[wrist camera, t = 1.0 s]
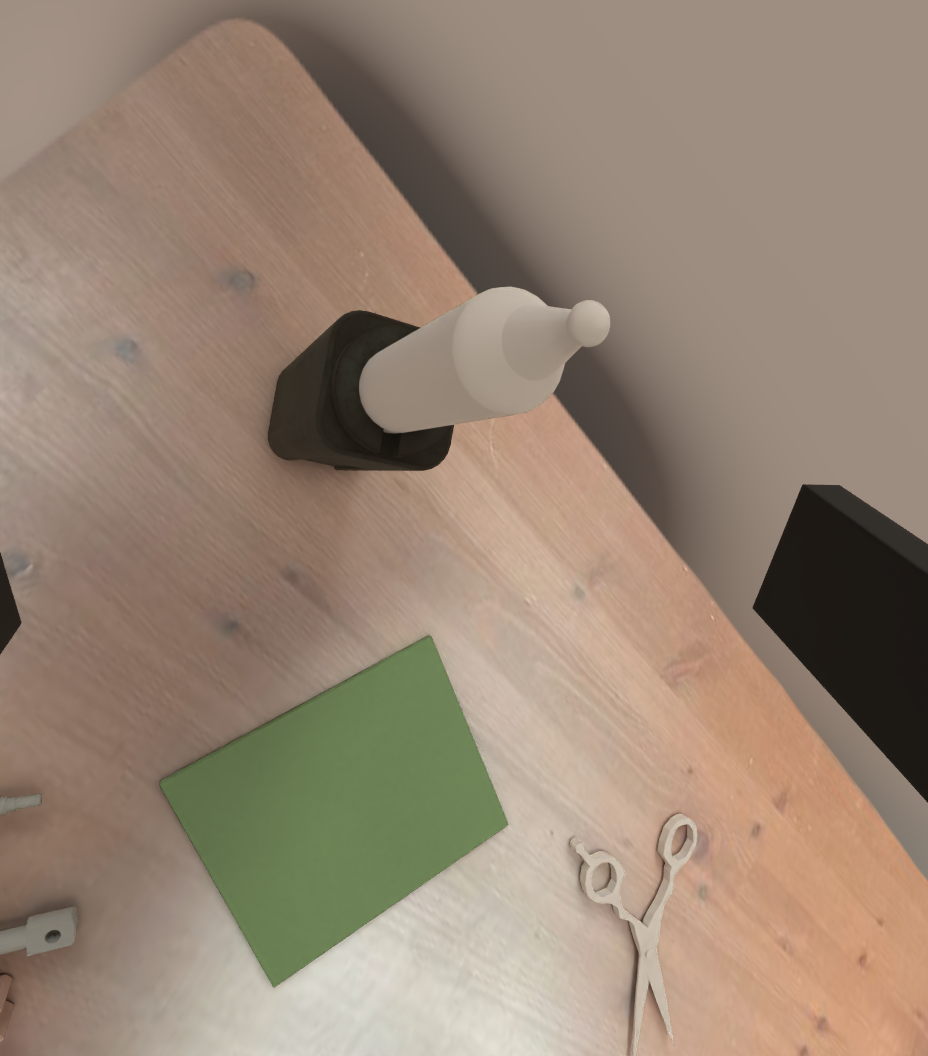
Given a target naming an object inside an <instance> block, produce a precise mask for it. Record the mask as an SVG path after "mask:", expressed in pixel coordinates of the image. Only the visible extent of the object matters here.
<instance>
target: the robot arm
mask: <svg viewBox="0 0 928 1056" xmlns="http://www.w3.org/2000/svg"><path fill="white" fill-rule="evenodd" d="M753 609H754V610H755V611H756V613H758V615H759V616H760V617H761V618H762V619H763V620H764V621H765V623H767V625H768V626H769V627H770V628H771V629H772V630H773V631H774V633H775V634H776V635H777V636H778V637H779V638H780V639H781V640H782V641H783V642H784V643H785V645H786V646H787V647H788V648H789V649H790V650H791V651H792V652H793V654H794V655H795V656H796V657H797V658H798V659H799V660H800V661H801V662H802V663H803V665H804V666H805V667H806V668H807V669H808V670H809V671H810V672H811V673H812V675H813V676H814V677H815V678H816V679H817V680H818V681H819V682H820V684H822V686H823V687H824V688H825V689H826V690H827V691H828V692H829V693H830V695H831V696H832V697H833V698H834V699H835V700H836V701H837V702H838V704H839V705H840V706H841V707H842V708H843V709H844V710H845V711H846V712H847V713H848V714H849V716H850V717H851V718H852V719H853V720H854V721H855V722H856V723H857V725H858V726H859V727H860V728H861V729H862V730H863V731H864V732H865V733H866V734H867V736H868V737H869V738H870V739H871V740H872V741H873V742H874V743H875V745H876V746H877V747H878V748H879V749H880V750H881V751H882V752H883V753H884V754H885V756H886V757H887V758H888V759H889V760H890V761H891V762H892V763H893V764H894V766H895V767H896V768H897V769H898V770H899V771H900V772H901V773H902V774H903V776H904V777H905V778H906V779H907V780H908V781H909V782H910V783H911V785H912V786H913V787H914V788H915V789H916V790H917V791H918V792H919V793H920V795H921V796H922V797H923V798H924V799H925V800H926V801H927V802H928V544H926V543H925V542H924V541H922V540H921V539H919V538H917V537H916V536H915V535H913V534H912V533H910V532H909V531H907V530H906V529H904V528H903V527H901V526H900V525H898V524H897V523H895V522H894V521H892V520H891V519H889V518H888V517H886V516H885V515H883V514H882V513H880V512H879V511H877V510H876V509H874V508H873V507H871V506H870V505H868V504H867V503H865V502H864V501H862V500H861V499H859V498H858V497H856V496H855V495H853V494H852V493H850V492H849V491H847V490H846V489H844V488H843V487H841V486H840V485H802V487H801V490H800V492H799V495H798V497H797V499H796V502H795V505H794V507H793V509H792V512H791V514H790V517H789V519H788V522H787V524H786V527H785V529H784V532H783V534H782V537H781V539H780V542H779V544H778V546H777V549H776V551H775V554H774V556H773V559H772V561H771V564H770V566H769V569H768V571H767V573H766V576H765V578H764V581H763V583H762V586H761V588H760V591H759V593H758V596H757V598H756V601H755V603H754V606H753ZM20 625H21V619H20V616H19V613H18V609H17V606H16V603H15V600H14V596H13V593H12V590H11V586H10V583H9V580H8V576H7V573H6V570H5V567H4V563H3V560H2V557H1V553H0V654H1V653H2V651H3V650H4V648H5V647H6V645H7V644H8V642H9V641H10V639H11V638H12V636H13V635H14V634H15V632H16V631H17V629H18V628H19V626H20Z"/></svg>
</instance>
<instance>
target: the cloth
mask: <svg viewBox="0 0 928 1056" xmlns="http://www.w3.org/2000/svg"><path fill="white" fill-rule="evenodd" d="M159 785H160V787H161V789H162V791H163V792H164V794H165V796H166V798H167V800H168V801H169V803H170V805H171V807H172V808H173V810H174V812H175V814H176V815H177V817H178V819H179V821H180V823H181V824H182V826H183V828H184V830H185V831H186V833H187V835H188V837H189V839H190V840H191V842H192V844H193V846H194V847H195V849H196V851H197V853H198V854H199V856H200V858H201V860H202V862H203V863H204V865H205V867H206V869H207V870H208V872H209V874H210V876H211V878H212V879H213V881H214V883H215V885H216V886H217V888H218V890H219V892H220V893H221V895H222V897H223V899H224V901H225V902H226V904H227V906H228V908H229V909H230V911H231V913H232V915H233V916H234V918H235V920H236V922H237V924H238V925H239V927H240V929H241V931H242V932H243V934H244V936H245V938H246V940H247V941H248V943H249V945H250V947H251V948H252V950H253V952H254V954H255V955H256V957H257V959H258V961H259V963H260V964H261V966H262V968H263V970H264V971H265V973H266V975H267V977H268V978H269V980H270V982H271V984H272V986H273V987H276V986H277V985H279V984H280V983H282V982H283V981H284V980H286V979H287V978H289V977H290V976H292V975H293V974H295V973H296V972H297V971H299V970H300V969H302V968H303V967H305V966H306V965H308V964H309V963H310V962H312V961H313V960H315V959H316V958H318V957H319V956H320V955H322V954H323V953H325V952H326V951H328V950H329V949H331V948H332V947H333V946H335V945H336V944H338V943H339V942H341V941H342V940H343V939H345V938H346V937H348V936H349V935H351V934H352V933H354V932H355V931H356V930H358V929H359V928H361V927H362V926H364V925H365V924H366V923H368V922H369V921H371V920H372V919H374V918H375V917H377V916H378V915H379V914H381V913H382V912H384V911H385V910H387V909H388V908H389V907H391V906H392V905H394V904H395V903H397V902H398V901H400V900H401V899H402V898H404V897H405V896H407V895H408V894H410V893H411V892H412V891H414V890H415V889H417V888H418V887H420V886H421V885H423V884H424V883H425V882H427V881H428V880H430V879H431V878H433V877H434V876H435V875H437V874H438V873H440V872H441V871H443V870H444V869H446V868H447V867H448V866H450V865H451V864H453V863H454V862H456V861H457V860H459V859H460V858H461V857H463V856H464V855H466V854H467V853H469V852H470V851H471V850H473V849H474V848H476V847H477V846H479V845H480V844H482V843H483V842H484V841H486V840H487V839H489V838H490V837H492V836H493V835H494V834H496V833H497V832H499V831H500V830H502V829H503V828H505V827H506V826H507V825H508V822H507V819H506V817H505V815H504V812H503V810H502V807H501V805H500V802H499V800H498V797H497V795H496V793H495V790H494V788H493V785H492V783H491V780H490V778H489V776H488V773H487V771H486V768H485V766H484V763H483V761H482V758H481V756H480V754H479V751H478V749H477V746H476V744H475V741H474V739H473V737H472V734H471V732H470V729H469V727H468V724H467V722H466V720H465V717H464V715H463V712H462V710H461V707H460V705H459V702H458V700H457V698H456V695H455V693H454V690H453V688H452V685H451V683H450V681H449V678H448V676H447V673H446V671H445V668H444V666H443V663H442V661H441V659H440V656H439V654H438V651H437V649H436V646H435V644H434V642H433V639H432V637H431V636H427V637H425V638H423V639H421V640H420V641H418V642H416V643H414V644H412V645H410V646H409V647H407V648H405V649H403V650H401V651H399V652H397V653H396V654H394V655H392V656H390V657H388V658H386V659H385V660H383V661H381V662H379V663H377V664H375V665H373V666H372V667H370V668H368V669H366V670H364V671H362V672H361V673H359V674H357V675H355V676H353V677H351V678H349V679H348V680H346V681H344V682H342V683H340V684H338V685H337V686H335V687H333V688H331V689H329V690H327V691H326V692H324V693H322V694H320V695H318V696H316V697H314V698H313V699H311V700H309V701H307V702H305V703H303V704H302V705H300V706H298V707H296V708H294V709H292V710H290V711H289V712H287V713H285V714H283V715H281V716H279V717H278V718H276V719H274V720H272V721H270V722H268V723H267V724H265V725H263V726H261V727H259V728H257V729H255V730H254V731H252V732H250V733H248V734H246V735H244V736H243V737H241V738H239V739H237V740H235V741H233V742H231V743H230V744H228V745H226V746H224V747H222V748H220V749H219V750H217V751H215V752H213V753H211V754H209V755H207V756H206V757H204V758H202V759H200V760H198V761H196V762H195V763H193V764H191V765H189V766H187V767H185V768H184V769H182V770H180V771H178V772H176V773H174V774H172V775H171V776H169V777H167V778H165V779H163V780H161V781H160V782H159Z"/></svg>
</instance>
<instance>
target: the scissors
mask: <svg viewBox="0 0 928 1056" xmlns="http://www.w3.org/2000/svg"><path fill="white" fill-rule="evenodd" d="M685 824H686V826H687V839H686V841H685V843H684V845H683V847H682V849H681V850H680V852H679V853H677V854H675V855H673V856H672V854H671V845H672V838H673V836H674V833H675V831H676V829H677V828H678V827H680V826H682V825H685ZM696 841H697V828H696V825H695V823H694V822H693V821H692V820H691V819H689V818H688V817H686V816H685V815H683V814H676V815H675V816H673V817H671V818H670V819H669V821H668V822H667V823H666V824H665V825H664V828H663V830H662V833H661V836H660V838H659V844H658V850H657V851H658V852H659V854H660V855H661V857H662V858H663V859H664V861H665V862H666V863H665V866H664V878H663V881H662V883H661V886H660V888H659V890H658V893H657V895H656V897H655V899H654V901H653V902H652V904H651V906H650V907H649V909H648V911H647V913H646V915H645V917H644V919H643V923H642V922H641V921H639V920H638V919H637V918H635V917H634V916H633V915H631V914H630V913H628V912H627V911H625V909H624V908H623V906H622V904H621V897H620V887H621V884H622V881H623V879H624V876H625V872H624V869H623V867H622V865H621V863H619V862H618V861H617V860H616V859H615V858H614V857H613V856H611V855H610V854H609V853H607V852H605V851H598V852H596V853H593V854H591V855H590V854H588V853H587V852H586V850H585V847H584V845H583V844H582V842H581V841H580V840H579V839H578V838H577V837H575V838H573V839H572V840H571V841H570V847H571V848H572V849H573V850H574V851H575V852H577V853H579V855H580V856H581V858H582V859H583V860H584V861H585V862H584V864H583V865H582V867H581V875H580V882H581V886H582V890H583V892H584V893H585V894H586V895H587V896H588V897H589V898H590V899H592V900H593V901H595V902H596V903H601V904H605V903H611V904H612V905H613V908H614V913H615V914H616V915H617V916H618V917H619V918H620V919H625V920H628V921H629V924H630V928H631V932H632V935H633V939H634V941H635V944H636V946H637V949H638V952H639V961H638V972H637V982H636V993H635V1007H634V1027H633V1044H632V1056H636V1051H637V1046H638V1040H639V1035H640V1029H641V1023H642V1017H643V1010H644V1005H645V1000H646V995H647V990H648V982H649V981H650V984H651V987H652V990H653V992H654V995H655V998H656V1001H657V1003H658V1006H659V1009H660V1011H661V1014H662V1016H663V1019H664V1022H665V1024H666V1027H667V1029H668V1032H669V1034H670V1037H671V1039H672V1042H673V1045H674V1040H673V1034H672V1028H671V1022H670V1017H669V1011H668V1005H667V999H666V994H665V988H664V983H663V978H662V973H661V969H660V964H659V959H658V954H657V947H658V943H659V934H660V925H661V920H662V914H663V907H664V905H665V902H666V900H667V898H668V897H669V896H670V895H671V893H672V892H673V882H674V876H675V875H676V873H677V872H678V871H679V870H680V868H681V867H682V866H683V865H684V864H685V863H686V862H687V861H688V859H689V858H690V856H691V854H692V852H693V850H694V848H695V845H696ZM605 862H609V864H610V867H611V880H610V882H609V884H608V886H607V888H605V889H603V890H600V891H597V892H596V891H594V890H593V888H592V874H593V872H594V870H595V869H596V867H597V866H598V865H599V864H602V863H605ZM674 1047H675V1046H674Z"/></svg>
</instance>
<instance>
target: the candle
mask: <svg viewBox="0 0 928 1056" xmlns="http://www.w3.org/2000/svg"><path fill="white" fill-rule="evenodd" d="M609 329H610V317H609V314H608V312H607V310H606V309H605V307H604V306H603V305H602V304H600V303H599V302H597V301H592V300H585V301H582V302H580V303H578V304H576V305H575V306H574V307H573V308H572V310H570V309H563V308H555V307H549V306H547V305H546V304H545V303H544V302H543V301H541V300H540V299H539V298H538V297H537V296H535V295H533V294H531V293H529V292H528V291H526V290H523V289H519V288H513V287H501V288H492V289H489V290H487V291H485V292H482V293H480V294H478V295H476V296H475V297H473V298H471V299H469V300H468V301H466V302H464V303H462V304H461V305H459V306H457V307H456V308H454V309H452V310H450V311H449V312H447V313H445V314H444V315H442V316H440V317H438V318H437V319H435V320H433V321H431V322H430V323H428V324H426V325H425V326H423V327H421V328H420V327H416V326H413V325H410V324H407V323H404V322H400V321H397V320H394V319H391V318H388V317H384V316H381V315H378V314H375V313H372V312H367V311H361V310H359V311H351V312H349V313H347V314H344V315H343V316H342V317H340V318H339V319H338V320H337V321H336V322H335V323H334V324H333V325H332V326H330V327H329V328H328V329H327V330H326V331H325V332H324V333H323V334H322V335H321V336H320V337H319V338H318V339H316V340H315V341H314V342H313V343H312V344H311V345H310V346H309V347H308V348H307V349H306V350H305V351H304V352H302V353H301V354H300V355H299V356H298V357H297V358H296V359H295V360H294V361H293V362H292V363H291V364H290V365H288V366H287V367H286V368H285V369H284V370H283V371H282V372H281V374H280V375H279V378H278V381H277V386H276V392H275V397H274V403H273V409H272V414H271V420H270V426H269V431H268V441H269V445H270V447H271V449H272V450H273V452H274V453H275V454H276V455H278V456H279V457H281V458H283V459H286V460H297V459H303V460H308V461H313V462H318V463H323V464H328V465H333V466H334V467H335V469H336V470H390V471H424V470H428V469H432V468H434V467H435V466H437V465H439V464H440V463H441V462H442V461H443V460H444V458H445V457H446V455H447V453H448V451H449V448H450V445H451V439H452V433H453V428H454V424H460V423H466V422H473V421H479V420H485V419H491V418H497V417H503V416H510V415H515V414H521V413H526V412H528V411H530V410H532V409H534V408H536V407H538V406H539V405H541V404H542V403H543V402H544V401H545V400H546V399H547V398H548V397H549V396H550V395H552V393H553V392H554V390H555V388H556V387H557V385H558V383H559V381H560V378H561V375H562V372H563V369H564V365H565V362H566V361H567V360H568V359H569V358H570V357H571V356H572V355H573V354H574V353H575V352H576V351H577V350H578V349H579V348H580V347H581V346H585V347H592V346H596V345H598V344H600V343H601V342H602V341H603V340H604V339H605V338H606V336H607V335H608V332H609Z"/></svg>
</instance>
